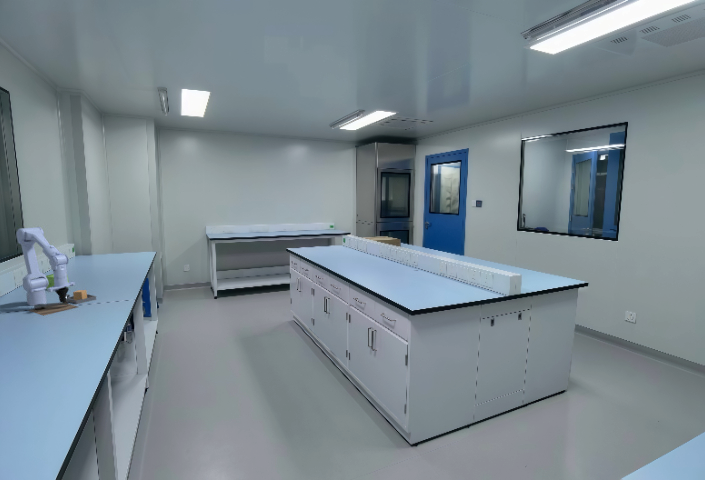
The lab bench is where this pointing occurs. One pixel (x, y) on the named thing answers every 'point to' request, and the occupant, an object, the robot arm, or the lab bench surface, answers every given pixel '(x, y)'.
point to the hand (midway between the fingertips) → (63, 301)
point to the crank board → (53, 309)
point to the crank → (51, 304)
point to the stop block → (80, 294)
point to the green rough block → (51, 280)
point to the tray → (89, 298)
